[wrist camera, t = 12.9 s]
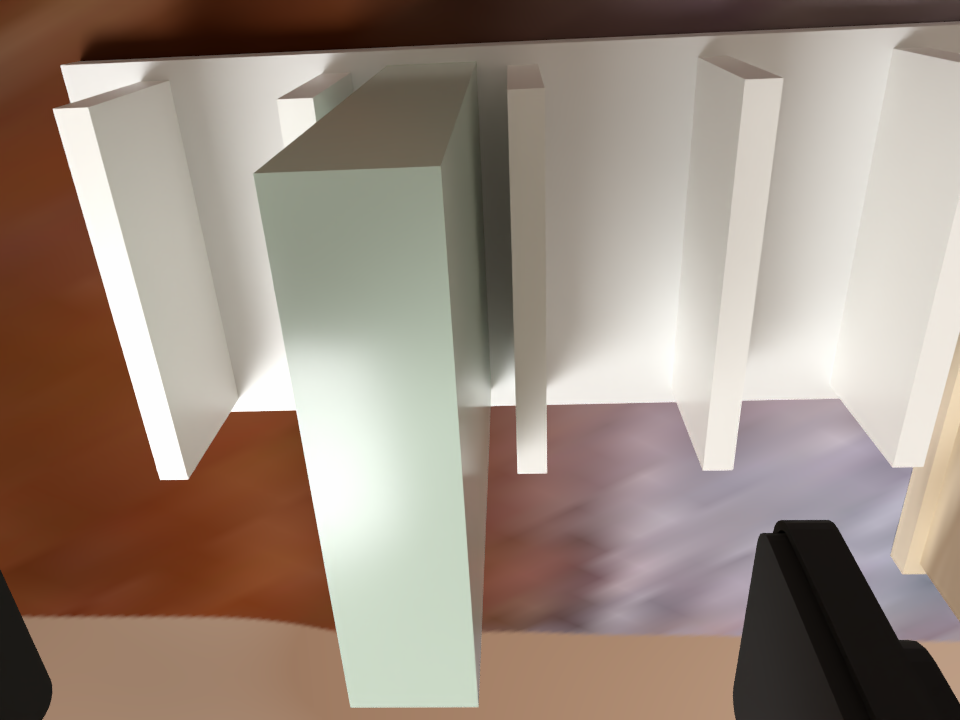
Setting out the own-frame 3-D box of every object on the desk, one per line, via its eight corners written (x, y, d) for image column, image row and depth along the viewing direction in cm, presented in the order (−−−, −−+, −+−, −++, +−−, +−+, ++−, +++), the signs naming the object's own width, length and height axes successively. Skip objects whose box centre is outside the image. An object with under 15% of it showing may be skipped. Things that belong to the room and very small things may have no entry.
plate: (476, 61, 20) (440, 166, 10) (491, 389, 25) (478, 707, 14) (386, 65, 20) (253, 173, 10) (417, 390, 25) (350, 707, 14)
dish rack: (991, 19, 20) (1145, 36, 15) (904, 381, 25) (999, 480, 20) (78, 61, 22) (-48, 89, 17) (168, 398, 27) (92, 495, 22)
